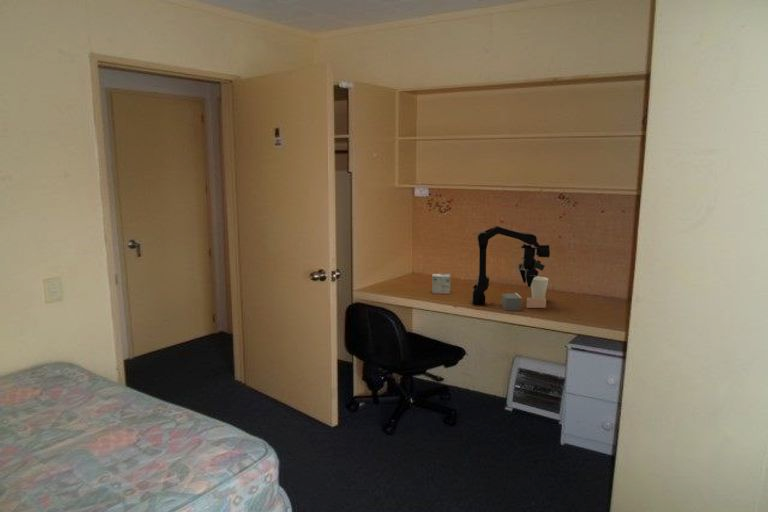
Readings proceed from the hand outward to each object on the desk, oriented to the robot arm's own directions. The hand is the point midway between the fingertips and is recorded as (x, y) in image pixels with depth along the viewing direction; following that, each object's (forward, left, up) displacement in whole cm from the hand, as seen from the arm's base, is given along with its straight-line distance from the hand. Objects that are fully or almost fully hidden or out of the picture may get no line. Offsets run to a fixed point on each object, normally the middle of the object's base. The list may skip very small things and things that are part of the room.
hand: (526, 284), depth 298 cm
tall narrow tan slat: (+4, -6, -11) cm, 13 cm away
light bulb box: (-43, +29, -12) cm, 53 cm away
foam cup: (+9, +8, -12) cm, 17 cm away
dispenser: (-10, -6, -11) cm, 16 cm away
